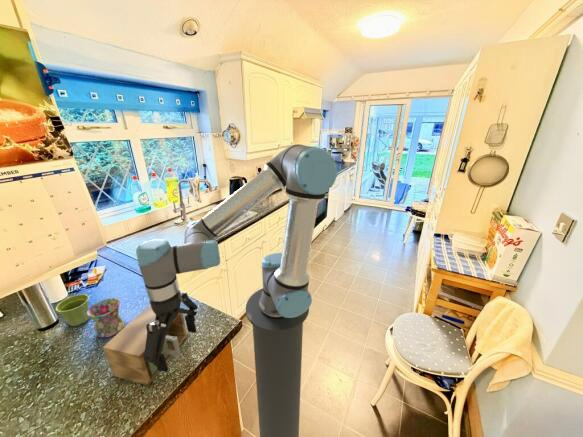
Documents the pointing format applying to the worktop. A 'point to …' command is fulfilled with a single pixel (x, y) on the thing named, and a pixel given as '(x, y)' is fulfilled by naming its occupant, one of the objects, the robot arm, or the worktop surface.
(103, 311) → the mug
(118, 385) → the worktop surface
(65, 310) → the plant pot
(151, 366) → the sliding door
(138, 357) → the cupboard
